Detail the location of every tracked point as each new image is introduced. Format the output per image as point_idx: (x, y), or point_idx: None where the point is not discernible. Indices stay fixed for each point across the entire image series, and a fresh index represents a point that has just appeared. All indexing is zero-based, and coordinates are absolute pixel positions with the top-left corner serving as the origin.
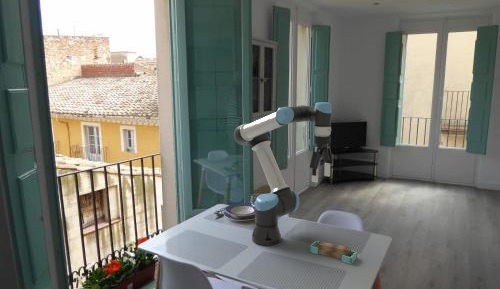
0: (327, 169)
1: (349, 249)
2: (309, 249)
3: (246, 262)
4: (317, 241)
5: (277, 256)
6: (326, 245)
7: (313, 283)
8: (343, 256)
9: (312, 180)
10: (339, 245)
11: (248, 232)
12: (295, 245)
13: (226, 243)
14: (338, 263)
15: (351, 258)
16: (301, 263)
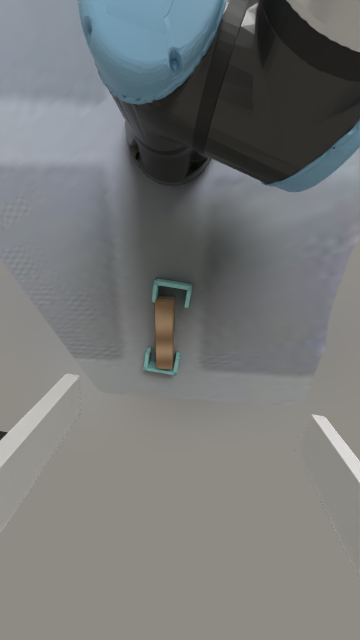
0: (341, 506)
1: (162, 367)
2: (155, 279)
3: (28, 153)
4: (187, 291)
5: (98, 215)
6: (157, 322)
7: (49, 320)
8: (145, 355)
9: (59, 385)
10: (171, 347)
11: None
12: (174, 235)
13: None
14: (140, 342)
15: (144, 369)
16: (100, 279)
